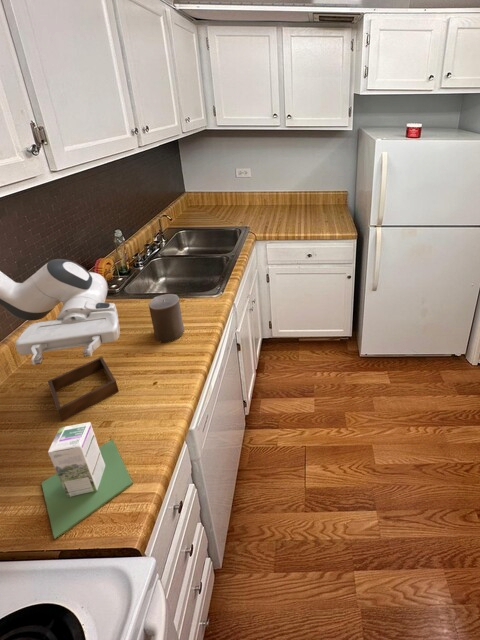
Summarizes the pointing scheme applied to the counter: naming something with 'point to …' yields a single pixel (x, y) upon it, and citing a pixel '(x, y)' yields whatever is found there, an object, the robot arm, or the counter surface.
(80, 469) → the syrup box
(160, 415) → the counter surface
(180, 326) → the pillar candle
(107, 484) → the green mat
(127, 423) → the counter surface
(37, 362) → the robot arm
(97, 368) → the frame
